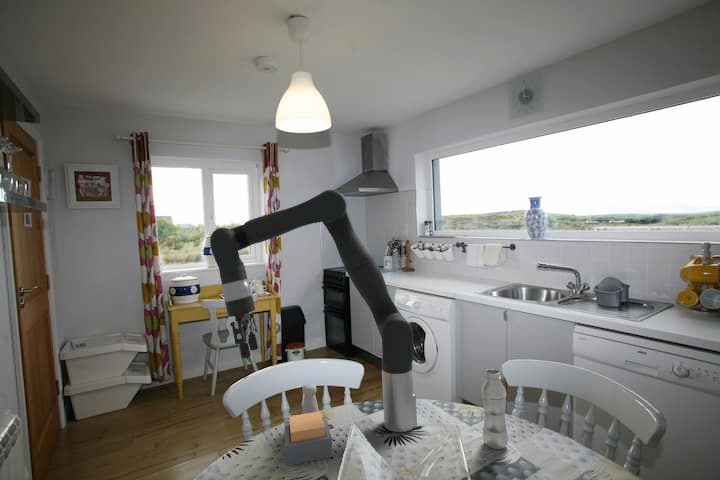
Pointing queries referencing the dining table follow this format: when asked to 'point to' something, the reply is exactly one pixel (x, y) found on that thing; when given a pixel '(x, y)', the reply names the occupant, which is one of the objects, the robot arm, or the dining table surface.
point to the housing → (308, 447)
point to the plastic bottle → (494, 411)
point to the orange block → (306, 426)
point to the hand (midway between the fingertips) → (250, 353)
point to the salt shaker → (309, 398)
